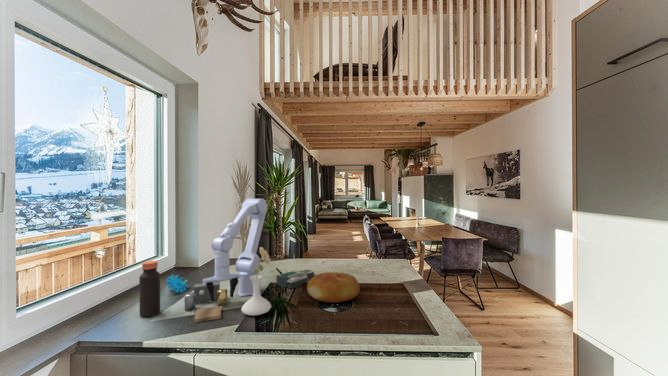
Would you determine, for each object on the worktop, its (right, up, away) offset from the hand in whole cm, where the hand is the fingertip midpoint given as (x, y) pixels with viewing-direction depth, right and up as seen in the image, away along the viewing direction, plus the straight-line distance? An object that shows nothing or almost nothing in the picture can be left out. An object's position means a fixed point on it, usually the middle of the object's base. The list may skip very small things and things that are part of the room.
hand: (222, 298), depth 119 cm
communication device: (+28, -3, +31) cm, 42 cm away
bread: (+47, -3, +10) cm, 48 cm away
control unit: (-8, -3, +4) cm, 10 cm away
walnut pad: (-1, -3, -10) cm, 11 cm away
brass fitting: (0, -3, 0) cm, 3 cm away
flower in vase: (+17, -3, -6) cm, 18 cm away
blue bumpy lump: (-27, -3, +16) cm, 31 cm away
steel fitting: (-11, -3, -4) cm, 12 cm away
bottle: (-24, -3, -9) cm, 26 cm away
